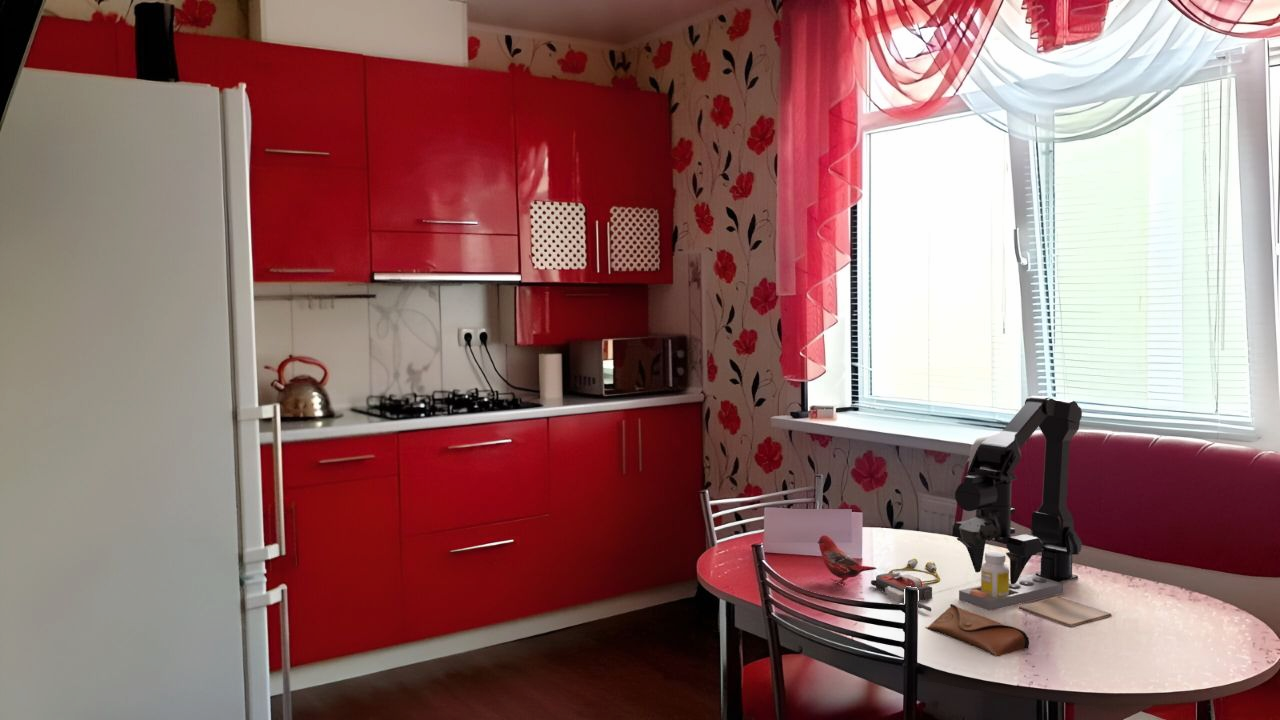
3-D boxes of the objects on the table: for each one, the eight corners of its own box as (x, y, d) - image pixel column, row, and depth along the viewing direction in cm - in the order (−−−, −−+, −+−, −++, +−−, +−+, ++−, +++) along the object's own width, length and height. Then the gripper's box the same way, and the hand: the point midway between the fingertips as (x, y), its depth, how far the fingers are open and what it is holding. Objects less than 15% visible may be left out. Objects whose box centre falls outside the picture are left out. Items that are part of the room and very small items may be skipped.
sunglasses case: (920, 627, 183) (933, 594, 184) (942, 639, 186) (954, 607, 188) (999, 657, 168) (1012, 622, 169) (1021, 670, 171) (1034, 635, 172)
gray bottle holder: (1031, 582, 209) (1031, 571, 209) (1063, 593, 202) (1063, 580, 202) (958, 599, 199) (959, 587, 198) (989, 611, 192) (989, 598, 191)
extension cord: (960, 576, 216) (960, 567, 216) (918, 590, 206) (918, 581, 206) (915, 564, 226) (915, 556, 226) (872, 578, 216) (873, 569, 216)
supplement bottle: (1009, 598, 199) (1010, 552, 199) (1007, 606, 194) (1008, 558, 194) (982, 595, 202) (982, 549, 201) (979, 602, 197) (980, 556, 196)
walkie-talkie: (862, 589, 208) (926, 617, 189) (862, 569, 207) (926, 596, 189) (894, 583, 211) (960, 610, 193) (894, 564, 211) (960, 589, 193)
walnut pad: (1058, 598, 198) (1058, 596, 198) (1111, 615, 188) (1111, 613, 188) (1018, 608, 193) (1018, 606, 193) (1070, 626, 182) (1070, 624, 182)
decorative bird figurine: (821, 575, 217) (821, 532, 216) (881, 595, 202) (881, 549, 201) (812, 577, 215) (812, 534, 215) (871, 598, 201) (871, 551, 200)
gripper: (933, 499, 201) (933, 572, 202) (1005, 517, 184) (1004, 596, 186) (971, 493, 206) (970, 564, 207) (1044, 510, 190) (1043, 587, 191)
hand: (995, 577), depth 198 cm, fingers open, 9 cm apart
